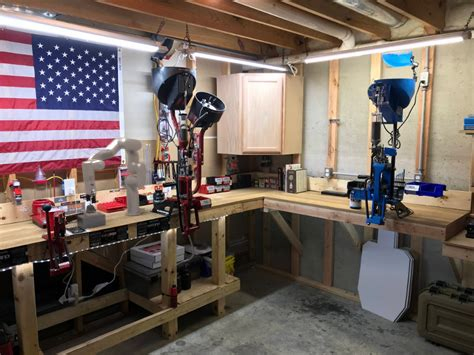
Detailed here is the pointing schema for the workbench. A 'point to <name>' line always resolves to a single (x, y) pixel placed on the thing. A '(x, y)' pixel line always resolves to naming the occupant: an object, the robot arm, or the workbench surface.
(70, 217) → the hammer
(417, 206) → the workbench surface
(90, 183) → the robot arm
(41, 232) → the workbench surface
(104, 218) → the block
